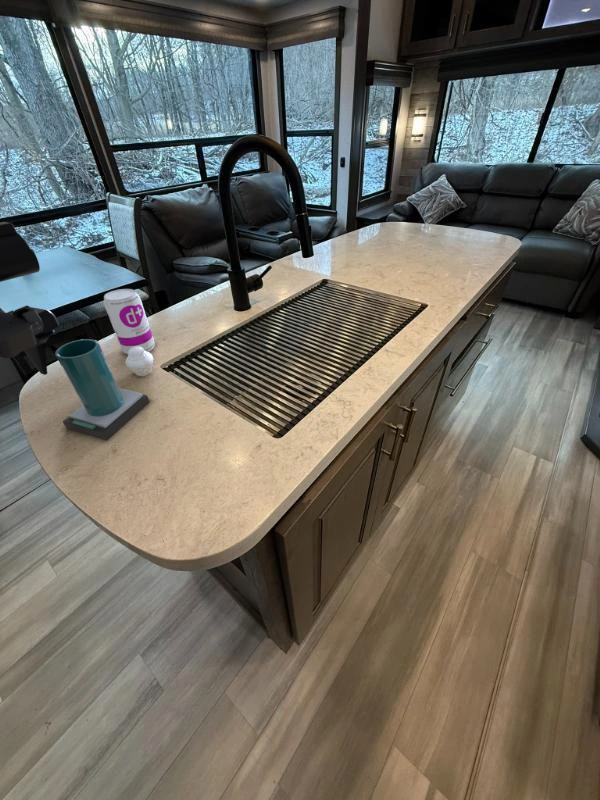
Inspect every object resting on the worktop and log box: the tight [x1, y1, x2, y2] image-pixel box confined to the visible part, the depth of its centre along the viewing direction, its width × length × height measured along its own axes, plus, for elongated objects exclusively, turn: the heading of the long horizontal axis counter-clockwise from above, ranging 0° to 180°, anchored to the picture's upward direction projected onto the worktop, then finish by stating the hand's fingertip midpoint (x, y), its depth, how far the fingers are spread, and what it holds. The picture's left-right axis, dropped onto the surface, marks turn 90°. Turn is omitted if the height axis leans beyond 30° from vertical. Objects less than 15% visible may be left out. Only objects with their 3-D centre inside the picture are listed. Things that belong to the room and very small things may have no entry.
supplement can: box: [103, 288, 156, 355], centre depth 84 cm, size 8×8×15 cm
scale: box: [62, 387, 151, 441], centre depth 67 cm, size 12×10×3 cm
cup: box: [54, 338, 123, 416], centre depth 62 cm, size 7×7×13 cm
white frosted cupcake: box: [124, 346, 154, 377], centre depth 78 cm, size 6×6×7 cm
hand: (18, 389), depth 53 cm, fingers open, 9 cm apart
